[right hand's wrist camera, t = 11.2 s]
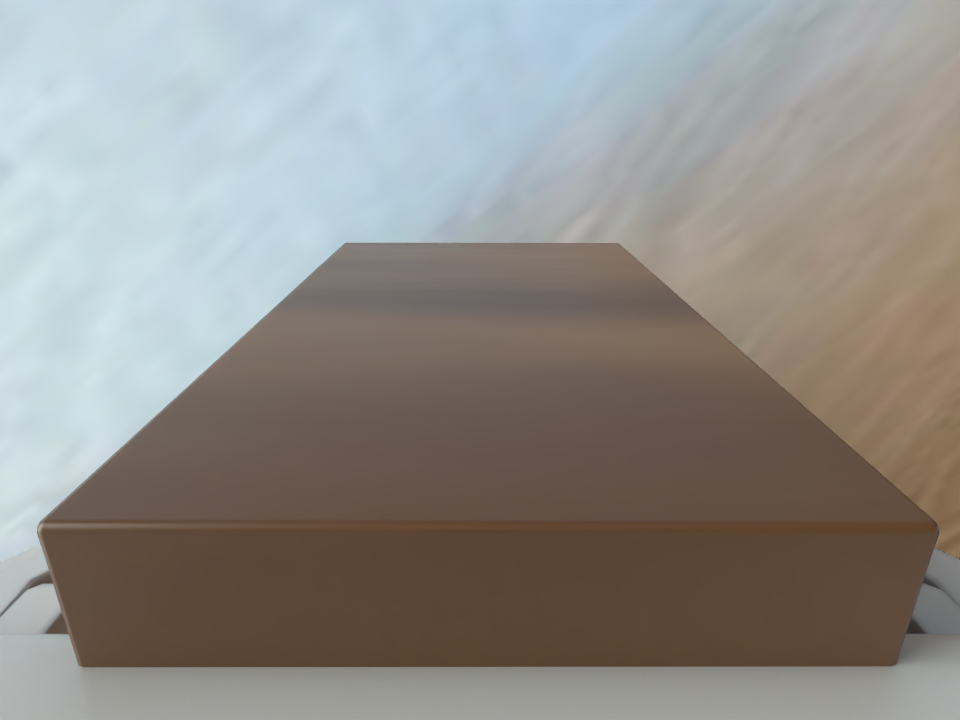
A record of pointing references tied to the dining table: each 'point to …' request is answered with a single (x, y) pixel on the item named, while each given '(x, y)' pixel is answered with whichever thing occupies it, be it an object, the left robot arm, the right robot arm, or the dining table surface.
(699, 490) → the box
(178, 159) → the dining table surface
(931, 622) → the right robot arm
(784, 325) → the dining table surface
